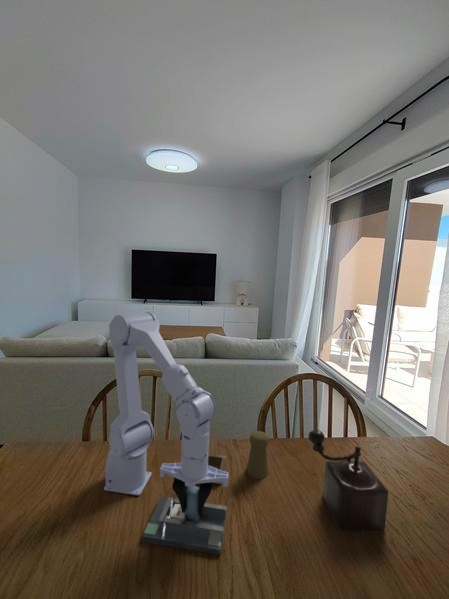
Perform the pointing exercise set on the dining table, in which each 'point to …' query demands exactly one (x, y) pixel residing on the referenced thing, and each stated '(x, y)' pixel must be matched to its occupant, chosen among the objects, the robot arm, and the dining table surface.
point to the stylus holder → (217, 461)
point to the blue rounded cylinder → (192, 504)
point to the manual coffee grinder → (352, 490)
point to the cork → (258, 455)
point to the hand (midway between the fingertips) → (192, 510)
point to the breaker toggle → (178, 513)
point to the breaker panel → (187, 528)
